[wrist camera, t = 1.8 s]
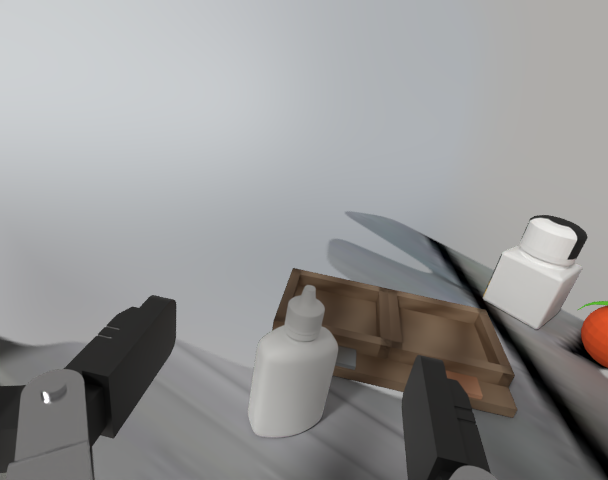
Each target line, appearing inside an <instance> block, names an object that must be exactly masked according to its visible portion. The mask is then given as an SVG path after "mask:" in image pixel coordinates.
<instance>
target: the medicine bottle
mask: <svg viewBox="0 0 608 480" xmlns="http://www.w3.org/2000/svg"><path fill="white" fill-rule="evenodd" d="M586 239H587V234H586V232H585V231H584V230H583V229H581V228H580V227H579V226H578V225H576V224H574V223H572V222H570V221H567V220H565V219H561V218H558V217H554V216H549V215H540V216H534V217H532V218H531V219H530V221H529V223H528V225H527V227H526V229H525V232H524V234H523V236H522V238H521V241H520V243H519V245H517V246H515V247H513V248H511V249H508V250H506V251H504V252H502V254H501V256H500V258H499V261H498V263H497V265H496V268H495V270H494V272H493V275H492V277H491V279H490V282H489V284H488V286H487V288H486V291H485V293H484V295H483V299H484V300H485V301H487V302H488V303H490V304H492V305H494V306H495V307H497V308H499V309H501V310H502V311H504V312H506V313H507V314H509V315H511V316H513V317H514V318H516V319H518V320H520V321H521V322H523V323H525V324H527V325H528V326H530V327H532V328H534V329H539V328H540V327H541V326H543V325H544V324H545V323H546V322H547V321H549V320H550V319H551V318H552V317H553V316H555V315H556V314H557V313H558V312H559V311H560V309H561V307H562V305H563V303H564V301H565V300H566V298H567V296H568V294H569V292H570V290H571V289H572V287H573V285H574V283H575V281H576V280H577V278H578V276H579V274H580V272H581V270H582V266H581V265H579V264H576V263H574V262H575V260H576V258H577V256H578V255H579V253H580V251H581V249H582V247H583V245H584V243H585V241H586Z"/></svg>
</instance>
